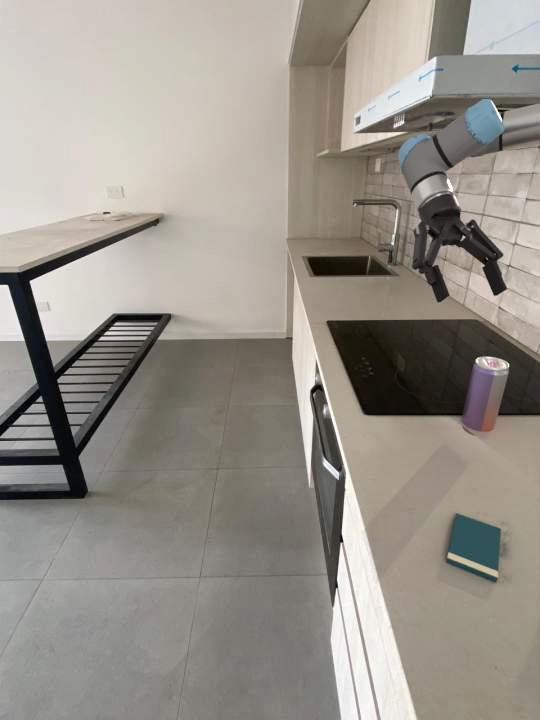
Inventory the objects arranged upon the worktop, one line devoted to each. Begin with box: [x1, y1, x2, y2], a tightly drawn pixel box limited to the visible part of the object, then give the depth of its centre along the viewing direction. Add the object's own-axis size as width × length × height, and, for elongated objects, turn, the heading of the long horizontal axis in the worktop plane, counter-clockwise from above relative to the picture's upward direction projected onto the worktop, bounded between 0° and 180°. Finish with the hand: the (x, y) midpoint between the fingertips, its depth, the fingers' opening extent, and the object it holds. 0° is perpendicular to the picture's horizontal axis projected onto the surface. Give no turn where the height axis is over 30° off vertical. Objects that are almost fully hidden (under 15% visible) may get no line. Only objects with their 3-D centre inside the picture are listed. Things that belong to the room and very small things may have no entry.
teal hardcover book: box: [445, 512, 502, 584], centre depth 55 cm, size 9×6×1 cm, turn 150°
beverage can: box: [461, 356, 510, 437], centre depth 77 cm, size 6×6×15 cm
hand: (472, 295), depth 76 cm, fingers open, 13 cm apart
